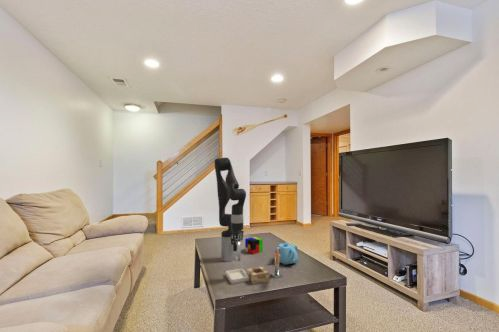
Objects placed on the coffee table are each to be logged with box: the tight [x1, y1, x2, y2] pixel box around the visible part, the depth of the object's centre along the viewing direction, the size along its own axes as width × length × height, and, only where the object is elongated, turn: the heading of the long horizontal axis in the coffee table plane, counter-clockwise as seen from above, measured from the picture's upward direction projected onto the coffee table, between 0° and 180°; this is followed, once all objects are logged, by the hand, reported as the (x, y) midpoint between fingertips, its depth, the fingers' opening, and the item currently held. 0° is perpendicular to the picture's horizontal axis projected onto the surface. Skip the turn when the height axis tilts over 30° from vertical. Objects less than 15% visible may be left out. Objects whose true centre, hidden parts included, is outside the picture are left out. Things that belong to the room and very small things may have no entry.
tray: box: [225, 268, 251, 285], centre depth 139 cm, size 13×11×2 cm
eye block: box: [246, 266, 270, 285], centre depth 138 cm, size 10×10×5 cm
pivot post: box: [269, 264, 284, 279], centre depth 143 cm, size 6×6×11 cm
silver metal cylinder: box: [232, 241, 242, 262], centre depth 140 cm, size 4×4×11 cm
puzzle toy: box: [244, 236, 264, 255], centre depth 187 cm, size 10×10×10 cm
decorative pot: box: [273, 242, 299, 266], centre depth 165 cm, size 16×16×14 cm
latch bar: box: [273, 247, 280, 266], centre depth 137 cm, size 4×16×9 cm, turn 174°
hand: (237, 249), depth 140 cm, fingers closed on silver metal cylinder, 4 cm apart
